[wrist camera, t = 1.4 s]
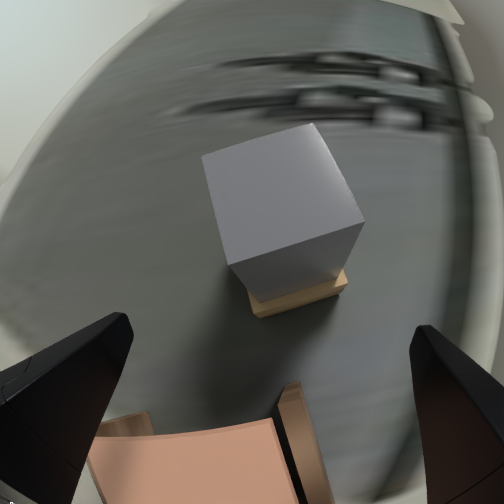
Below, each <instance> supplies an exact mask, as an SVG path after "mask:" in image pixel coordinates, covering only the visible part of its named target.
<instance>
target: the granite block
mask: <svg viewBox="0 0 504 504" xmlns="http://www.w3.org/2000/svg"><path fill="white" fill-rule="evenodd" d="M201 157H202V161H203V165H204V170H205V174H206V178H207V182H208V186H209V191H210V195H211V199H212V203H213V207H214V211H215V215H216V219H217V223H218V227H219V231H220V235H221V239H222V243H223V247H224V251H225V255H226V259H227V263H228V266H229V267H230V268H231V269H232V270H233V272H234V273H235V274H236V275H237V277H238V278H239V279H240V280H241V282H242V283H243V284H244V285H245V287H246V288H247V289H248V290H249V291H250V293H251V294H252V295H253V296H254V298H255V299H256V300H257V301H258V302H259V303H262V302H265V301H269V300H272V299H275V298H278V297H282V296H285V295H288V294H291V293H294V292H297V291H300V290H303V289H306V288H309V287H312V286H315V285H318V284H321V283H324V282H327V281H330V280H333V279H336V278H338V276H339V274H340V272H341V270H342V268H343V266H344V264H345V262H346V260H347V258H348V256H349V254H350V252H351V250H352V248H353V246H354V244H355V242H356V240H357V238H358V236H359V233H360V231H361V229H362V227H363V225H364V223H365V220H364V218H363V216H362V214H361V212H360V209H359V207H358V205H357V203H356V201H355V199H354V197H353V195H352V193H351V191H350V189H349V187H348V185H347V183H346V181H345V179H344V177H343V175H342V173H341V172H340V170H339V168H338V166H337V164H336V162H335V160H334V159H333V157H332V155H331V153H330V151H329V150H328V148H327V146H326V144H325V143H324V141H323V139H322V137H321V136H320V134H319V132H318V130H317V129H316V127H315V125H314V124H313V123H312V124H308V125H303V126H299V127H296V128H292V129H288V130H284V131H280V132H277V133H273V134H270V135H266V136H263V137H259V138H256V139H253V140H249V141H246V142H243V143H240V144H236V145H233V146H230V147H227V148H224V149H221V150H218V151H215V152H212V153H210V154H207V155H204V156H201Z"/></svg>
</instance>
